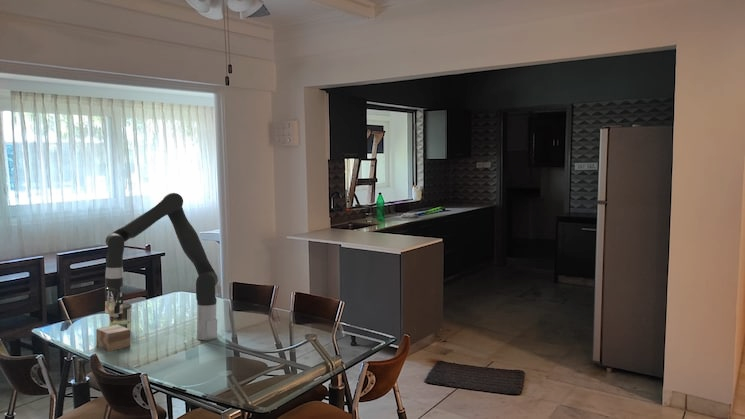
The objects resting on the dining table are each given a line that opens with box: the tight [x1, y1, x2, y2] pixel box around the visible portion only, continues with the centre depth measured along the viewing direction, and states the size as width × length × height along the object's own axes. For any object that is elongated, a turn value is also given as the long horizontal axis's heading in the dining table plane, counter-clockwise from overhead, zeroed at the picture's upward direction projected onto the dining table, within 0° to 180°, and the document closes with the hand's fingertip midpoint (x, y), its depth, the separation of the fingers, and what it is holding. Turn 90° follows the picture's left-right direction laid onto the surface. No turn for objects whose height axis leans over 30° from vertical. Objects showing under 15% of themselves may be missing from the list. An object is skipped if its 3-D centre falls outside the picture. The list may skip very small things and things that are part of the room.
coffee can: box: [108, 302, 133, 334], centre depth 274 cm, size 10×10×14 cm
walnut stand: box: [95, 325, 131, 352], centre depth 254 cm, size 12×10×8 cm
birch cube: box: [104, 300, 123, 315], centre depth 254 cm, size 6×6×6 cm
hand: (113, 311), depth 254 cm, fingers closed on birch cube, 5 cm apart
